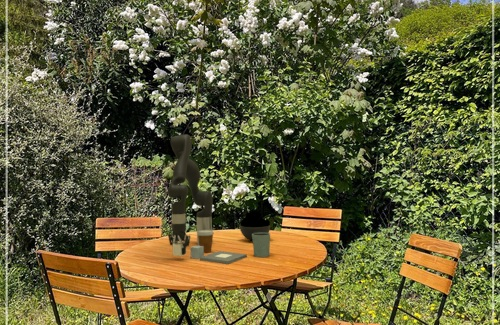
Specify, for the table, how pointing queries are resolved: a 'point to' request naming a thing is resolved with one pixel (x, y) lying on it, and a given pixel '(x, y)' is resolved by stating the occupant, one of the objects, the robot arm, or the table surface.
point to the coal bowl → (253, 225)
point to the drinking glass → (261, 244)
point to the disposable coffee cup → (205, 239)
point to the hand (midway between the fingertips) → (179, 253)
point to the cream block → (177, 249)
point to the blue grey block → (197, 252)
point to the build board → (223, 257)
